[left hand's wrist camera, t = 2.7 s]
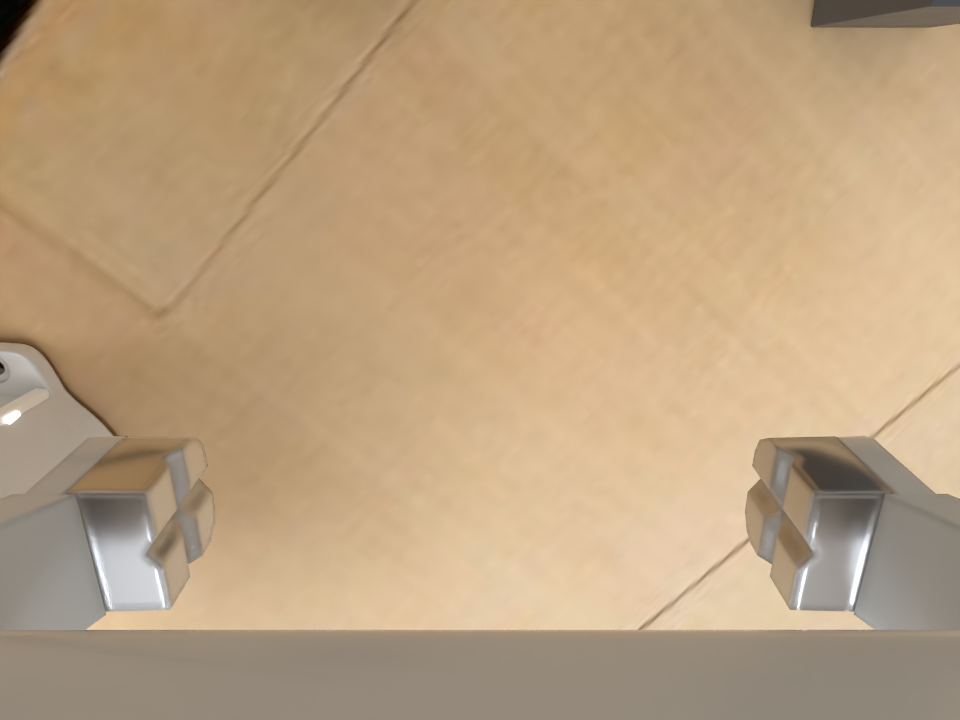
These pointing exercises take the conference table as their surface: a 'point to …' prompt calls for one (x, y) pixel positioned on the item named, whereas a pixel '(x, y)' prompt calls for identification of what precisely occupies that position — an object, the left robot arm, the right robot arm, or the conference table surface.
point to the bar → (885, 13)
